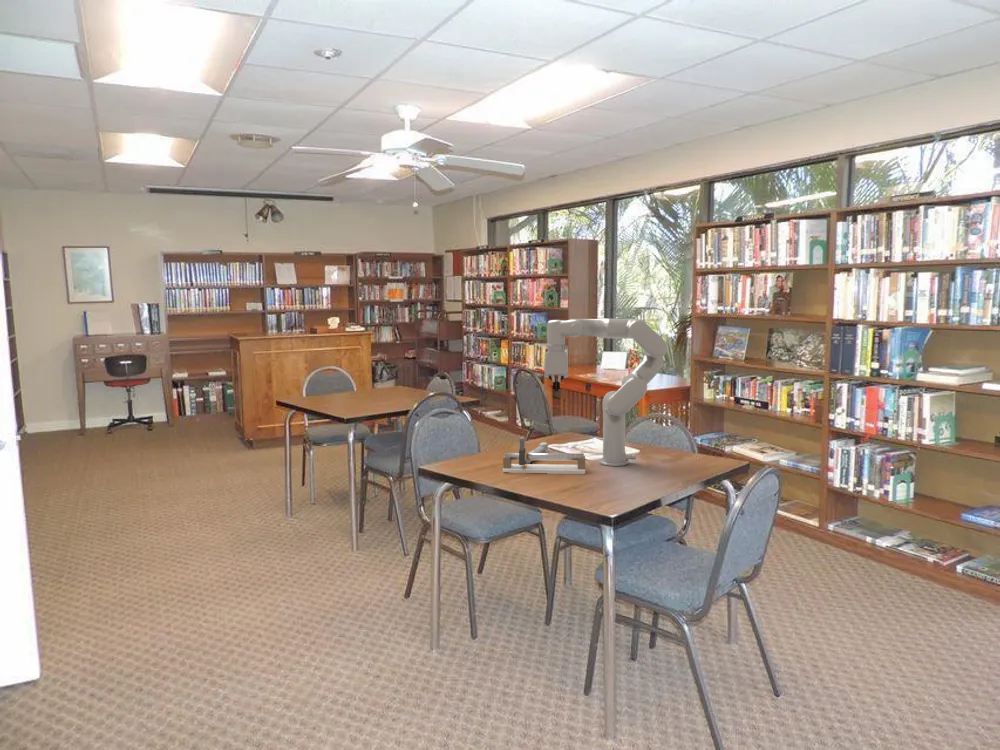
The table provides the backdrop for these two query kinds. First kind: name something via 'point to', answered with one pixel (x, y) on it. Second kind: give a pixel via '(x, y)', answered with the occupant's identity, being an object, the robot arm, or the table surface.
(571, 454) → the pipe
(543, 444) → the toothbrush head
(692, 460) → the table surface
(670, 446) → the table surface
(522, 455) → the collar
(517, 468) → the pipe base
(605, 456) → the robot arm
